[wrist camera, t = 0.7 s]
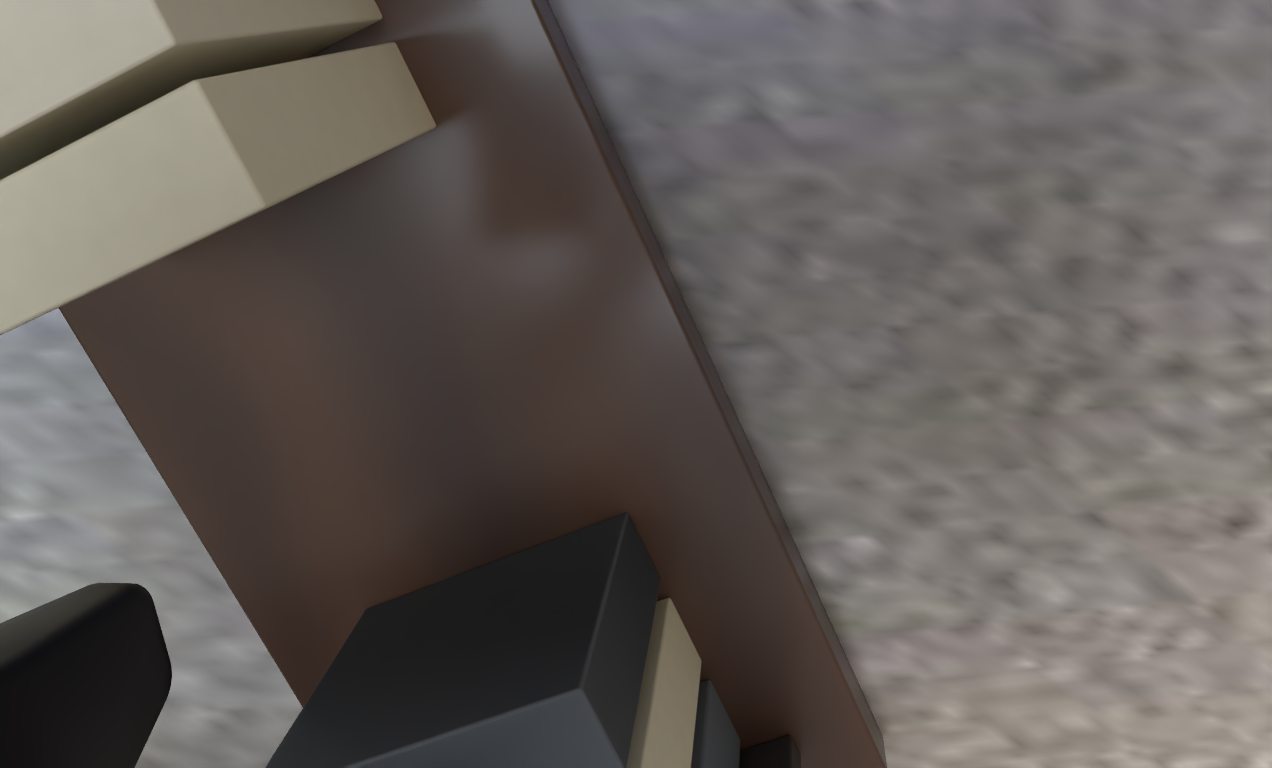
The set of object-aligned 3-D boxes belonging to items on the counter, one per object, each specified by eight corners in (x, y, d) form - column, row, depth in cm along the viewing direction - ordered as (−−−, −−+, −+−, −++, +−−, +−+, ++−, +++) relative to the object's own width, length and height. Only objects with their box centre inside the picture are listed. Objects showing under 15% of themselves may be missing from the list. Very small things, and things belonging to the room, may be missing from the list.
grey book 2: (401, 671, 25) (291, 880, 19) (364, 608, 24) (241, 803, 19) (661, 578, 23) (626, 774, 18) (627, 510, 23) (581, 688, 17)
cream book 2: (161, 258, 22) (-124, 394, 15) (117, 180, 22) (-199, 281, 15) (438, 126, 21) (266, 208, 14) (395, 40, 20) (196, 78, 13)
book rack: (440, 874, 28) (352, 1113, 22) (-38, 78, 23) (-319, 116, 17) (883, 738, 25) (917, 968, 19) (459, -194, 20) (331, -261, 14)
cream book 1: (105, 160, 22) (-219, 252, 15) (58, 78, 21) (-299, 133, 14) (384, 17, 20) (176, 44, 13) (339, -73, 20) (100, -97, 13)
